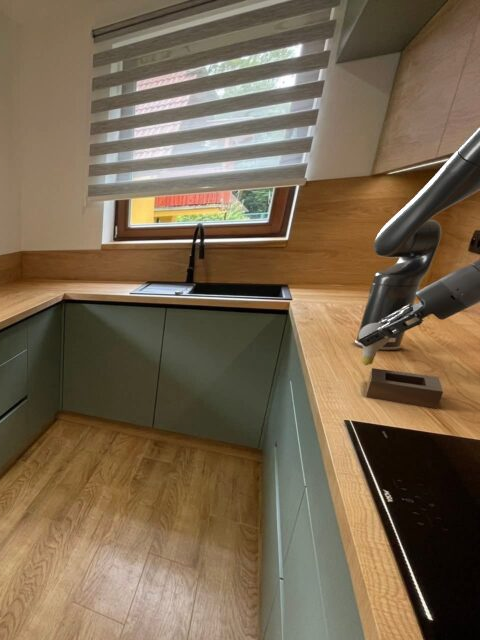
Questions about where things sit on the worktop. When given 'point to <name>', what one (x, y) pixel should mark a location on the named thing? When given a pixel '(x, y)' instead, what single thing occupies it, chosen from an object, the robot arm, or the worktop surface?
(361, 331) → the light bulb
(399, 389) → the socket block
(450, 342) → the worktop surface
